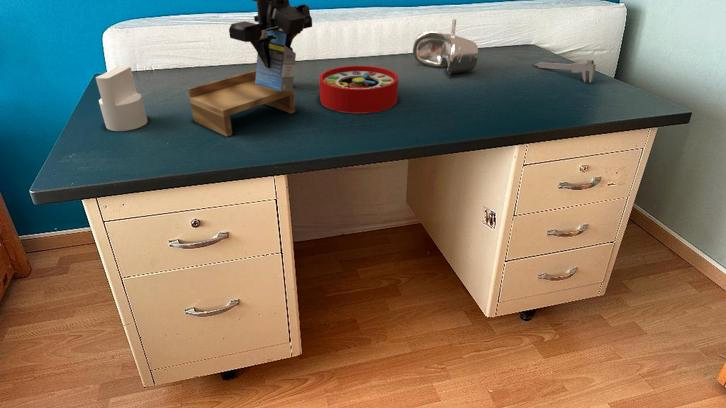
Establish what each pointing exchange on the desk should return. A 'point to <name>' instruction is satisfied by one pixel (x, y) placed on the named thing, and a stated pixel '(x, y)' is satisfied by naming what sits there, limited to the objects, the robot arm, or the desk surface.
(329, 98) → the toy clock
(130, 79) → the cylinder with rectangular tab
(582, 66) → the caliper
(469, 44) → the silver curved metal piece
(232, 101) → the shelf
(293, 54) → the label tape box
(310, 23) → the robot arm
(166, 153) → the desk surface
